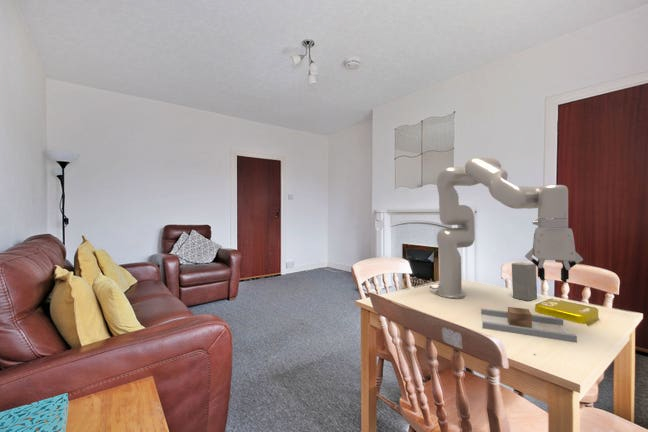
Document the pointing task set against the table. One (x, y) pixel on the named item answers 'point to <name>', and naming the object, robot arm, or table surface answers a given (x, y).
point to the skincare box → (524, 281)
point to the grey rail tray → (500, 323)
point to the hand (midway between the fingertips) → (552, 280)
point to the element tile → (568, 311)
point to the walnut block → (519, 317)
